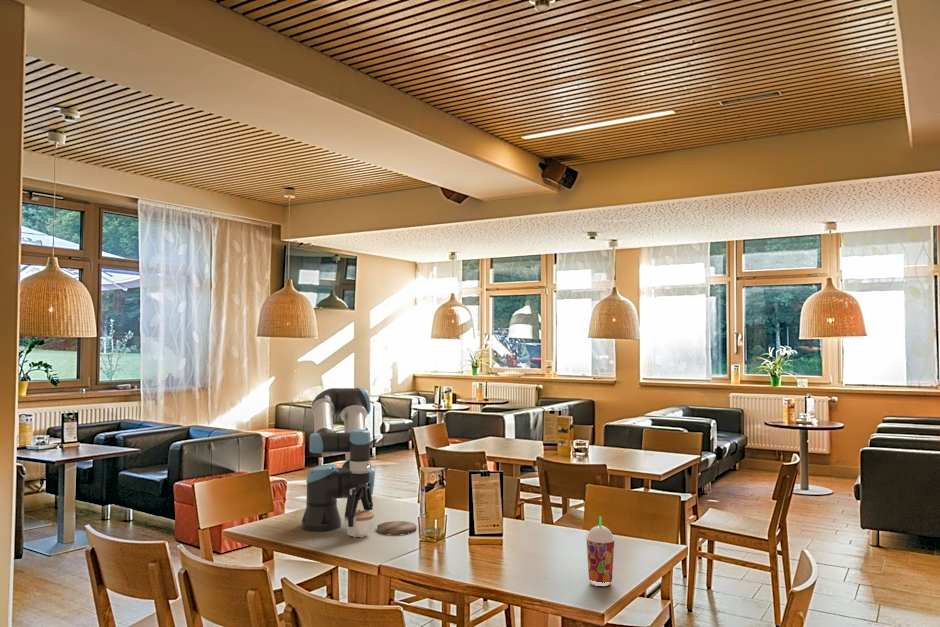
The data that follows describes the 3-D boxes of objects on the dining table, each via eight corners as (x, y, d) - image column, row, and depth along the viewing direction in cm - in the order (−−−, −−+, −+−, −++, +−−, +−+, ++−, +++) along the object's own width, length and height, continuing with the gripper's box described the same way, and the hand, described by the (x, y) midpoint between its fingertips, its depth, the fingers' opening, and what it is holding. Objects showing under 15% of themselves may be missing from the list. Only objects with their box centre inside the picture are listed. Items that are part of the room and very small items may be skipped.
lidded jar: (339, 537, 264) (339, 512, 265) (352, 530, 275) (352, 505, 275) (365, 540, 261) (366, 514, 261) (378, 532, 271) (378, 507, 272)
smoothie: (611, 579, 220) (610, 513, 220) (617, 588, 211) (617, 520, 212) (583, 579, 219) (583, 513, 220) (589, 589, 211) (589, 520, 212)
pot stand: (370, 533, 271) (370, 529, 271) (387, 523, 285) (387, 519, 285) (407, 536, 266) (407, 532, 266) (422, 526, 281) (422, 523, 281)
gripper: (354, 477, 257) (353, 540, 256) (382, 467, 278) (381, 524, 278) (335, 476, 259) (334, 538, 258) (364, 466, 281) (364, 523, 280)
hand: (359, 531), depth 268 cm, fingers closed on lidded jar, 11 cm apart
